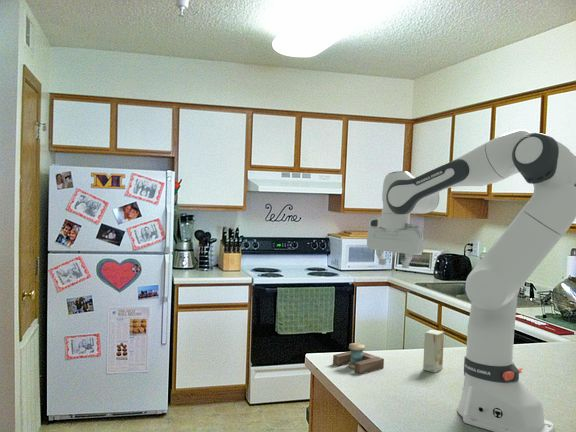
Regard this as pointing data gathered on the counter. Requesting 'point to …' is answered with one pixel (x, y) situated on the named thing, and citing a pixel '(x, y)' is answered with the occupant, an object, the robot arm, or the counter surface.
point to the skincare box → (433, 350)
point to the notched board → (360, 362)
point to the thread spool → (355, 354)
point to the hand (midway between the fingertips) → (393, 266)
